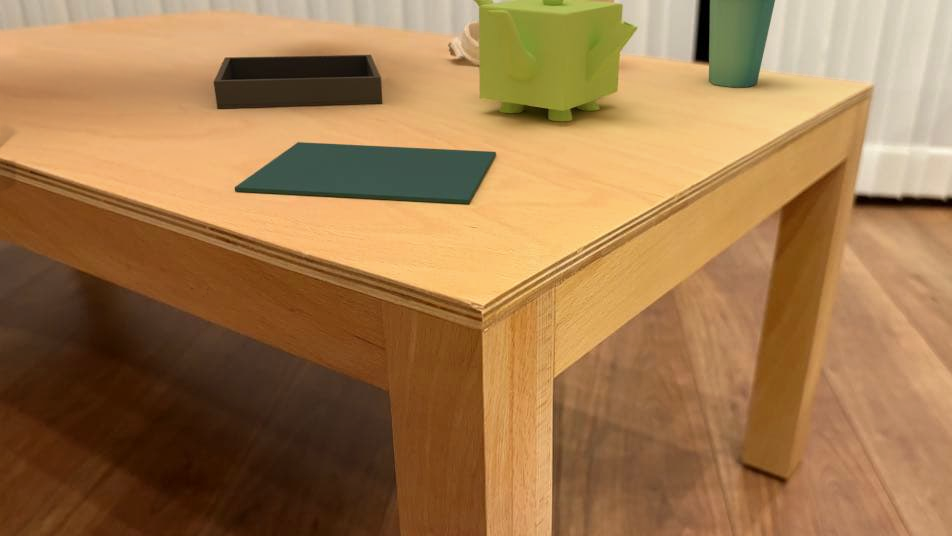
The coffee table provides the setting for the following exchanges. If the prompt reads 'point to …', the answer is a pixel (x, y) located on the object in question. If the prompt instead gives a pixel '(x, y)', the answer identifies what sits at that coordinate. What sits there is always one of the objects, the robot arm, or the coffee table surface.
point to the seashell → (466, 43)
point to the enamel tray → (297, 81)
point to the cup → (737, 40)
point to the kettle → (550, 53)
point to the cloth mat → (373, 173)
